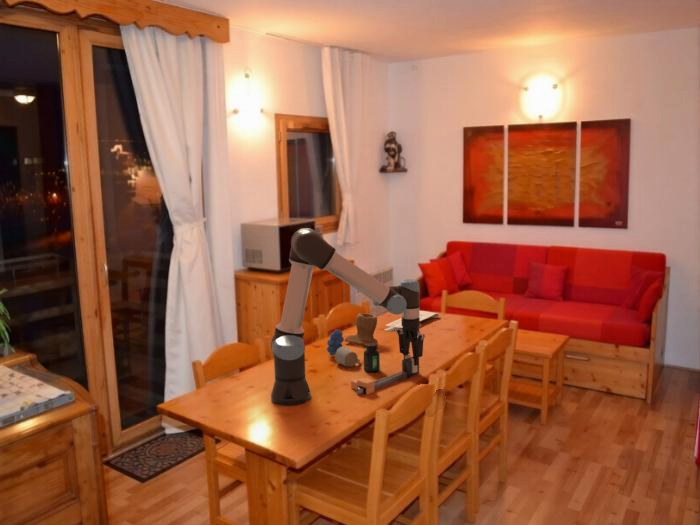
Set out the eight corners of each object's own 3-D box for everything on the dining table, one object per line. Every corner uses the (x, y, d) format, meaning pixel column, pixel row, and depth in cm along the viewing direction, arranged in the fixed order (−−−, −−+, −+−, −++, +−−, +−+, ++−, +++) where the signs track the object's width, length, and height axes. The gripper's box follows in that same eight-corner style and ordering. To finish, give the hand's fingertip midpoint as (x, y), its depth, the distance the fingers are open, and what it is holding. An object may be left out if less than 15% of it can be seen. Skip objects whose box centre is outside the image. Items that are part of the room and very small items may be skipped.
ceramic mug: (345, 369, 261) (345, 352, 260) (334, 364, 268) (334, 348, 266) (364, 364, 268) (364, 347, 266) (353, 360, 274) (353, 343, 273)
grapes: (335, 350, 289) (335, 325, 287) (347, 352, 285) (346, 327, 283) (320, 356, 279) (320, 331, 277) (332, 359, 275) (331, 333, 273)
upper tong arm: (360, 396, 230) (359, 378, 229) (354, 394, 233) (354, 376, 232) (419, 373, 253) (419, 357, 252) (413, 372, 256) (413, 356, 254)
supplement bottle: (378, 374, 254) (378, 347, 252) (362, 373, 256) (362, 346, 254) (380, 368, 261) (380, 342, 259) (365, 368, 262) (364, 341, 260)
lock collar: (367, 394, 231) (366, 383, 230) (350, 388, 238) (350, 377, 237) (374, 391, 234) (374, 380, 233) (357, 385, 240) (357, 375, 240)
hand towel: (383, 324, 320) (420, 309, 352) (383, 331, 321) (420, 315, 352) (403, 327, 313) (439, 311, 345) (403, 334, 313) (439, 318, 345)
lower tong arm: (368, 393, 233) (367, 376, 232) (365, 392, 234) (365, 375, 233) (419, 373, 253) (419, 357, 252) (416, 373, 254) (416, 357, 253)
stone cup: (382, 342, 300) (381, 312, 298) (370, 348, 290) (370, 318, 288) (356, 338, 308) (355, 309, 305) (343, 344, 298) (343, 314, 295)
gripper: (431, 318, 245) (431, 373, 249) (402, 312, 256) (402, 364, 260) (419, 322, 240) (420, 378, 244) (389, 315, 251) (390, 369, 255)
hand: (411, 371), depth 252 cm, fingers open, 3 cm apart
